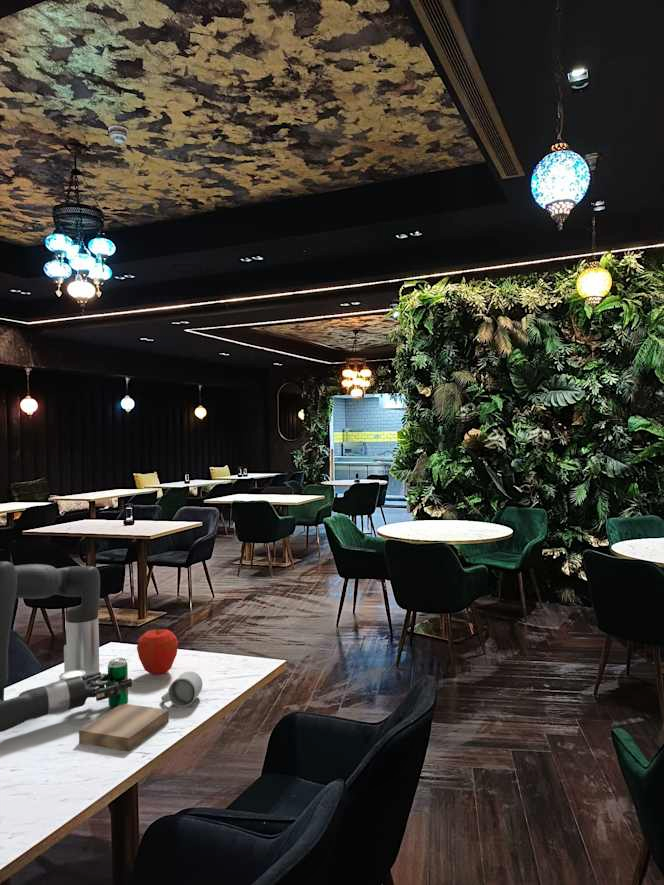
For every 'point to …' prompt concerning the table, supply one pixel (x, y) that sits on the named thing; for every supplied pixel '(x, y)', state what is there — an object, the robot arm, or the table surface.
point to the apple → (157, 651)
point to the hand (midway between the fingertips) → (125, 678)
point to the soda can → (115, 674)
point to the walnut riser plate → (124, 727)
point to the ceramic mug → (184, 690)
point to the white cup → (72, 674)
